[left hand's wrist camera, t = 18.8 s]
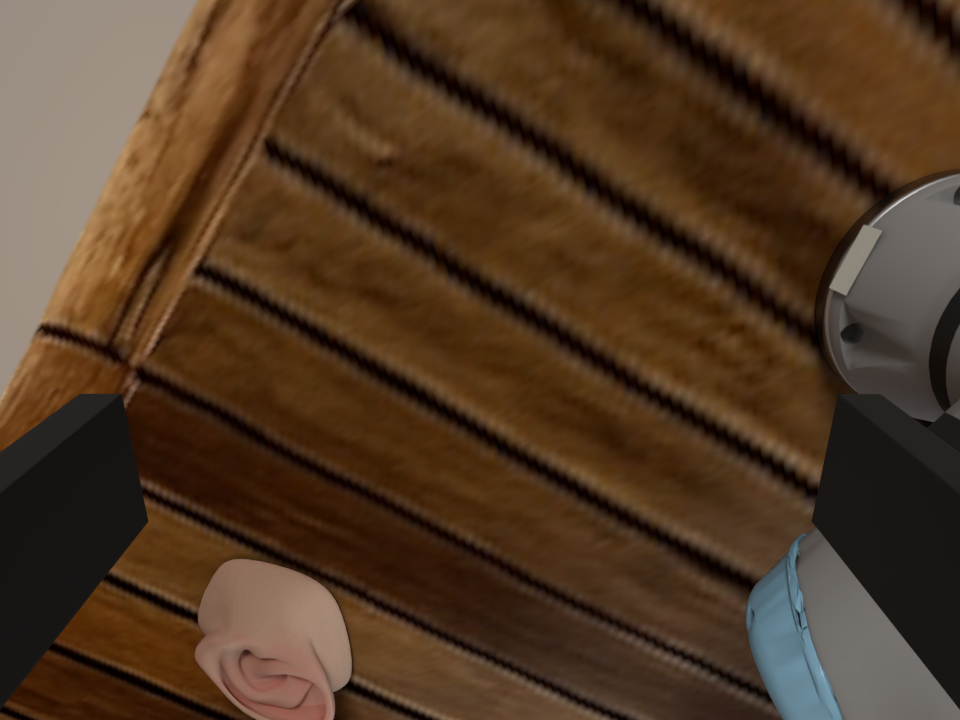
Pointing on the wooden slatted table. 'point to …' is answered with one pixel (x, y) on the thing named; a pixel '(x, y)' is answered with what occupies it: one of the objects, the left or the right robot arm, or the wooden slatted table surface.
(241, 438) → the wooden slatted table surface
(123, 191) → the wooden slatted table surface
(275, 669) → the anatomical model
